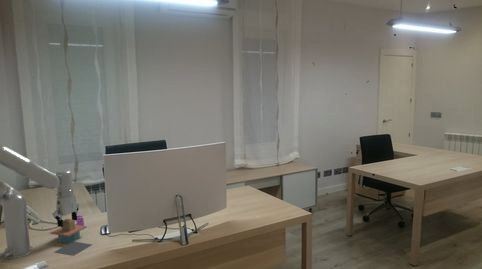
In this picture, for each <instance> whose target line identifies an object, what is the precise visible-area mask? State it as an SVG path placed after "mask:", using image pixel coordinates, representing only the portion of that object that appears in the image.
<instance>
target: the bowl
mask: <svg viewBox="0 0 482 269" xmlns="http://www.w3.org/2000/svg"><path fill="white" fill-rule="evenodd" d="M80 234H81V233H80V231H79V232H77V233H75V234H73V235H71V236H69V237H68V236H61V235H57V236H58V237H57V238H58V241H59V243H72V242H76V241H77V240H79V238H80V237H81V235H80Z"/></svg>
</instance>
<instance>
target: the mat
mask: <svg viewBox="0 0 482 269" xmlns="http://www.w3.org/2000/svg"><path fill="white" fill-rule="evenodd" d="M92 246H93V244H91V243H85V242H79V241H72V242H69V243H68V244H65V246H62V247H61V248H59V249H57V250H55V251H53V253H55V254H61V255H67V256H71V257H72V256H73V257H74V256H76V255H78V254H79V253H81V252H83V251H84V250H86V249H88V248H89V247H92Z"/></svg>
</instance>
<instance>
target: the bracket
mask: <svg viewBox="0 0 482 269" xmlns="http://www.w3.org/2000/svg"><path fill="white" fill-rule="evenodd" d="M75 225H80V226H85V222H84V217H83V215H82V214H77V220H75Z"/></svg>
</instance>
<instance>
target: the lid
mask: <svg viewBox="0 0 482 269" xmlns="http://www.w3.org/2000/svg"><path fill="white" fill-rule="evenodd" d="M62 220H63V227H58V228H57V229H55V230H53V231H50V232H49V233H50V235H54V236H55V235H56V236H58V235H61V236H68V237H69V236H71V235H73V234H75V233H77V232H79V231H83V230H85V229H86V228H87V226H86V225H84V226H80V225H75V224H76V220H72V219H70V218H65V219H62Z"/></svg>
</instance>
